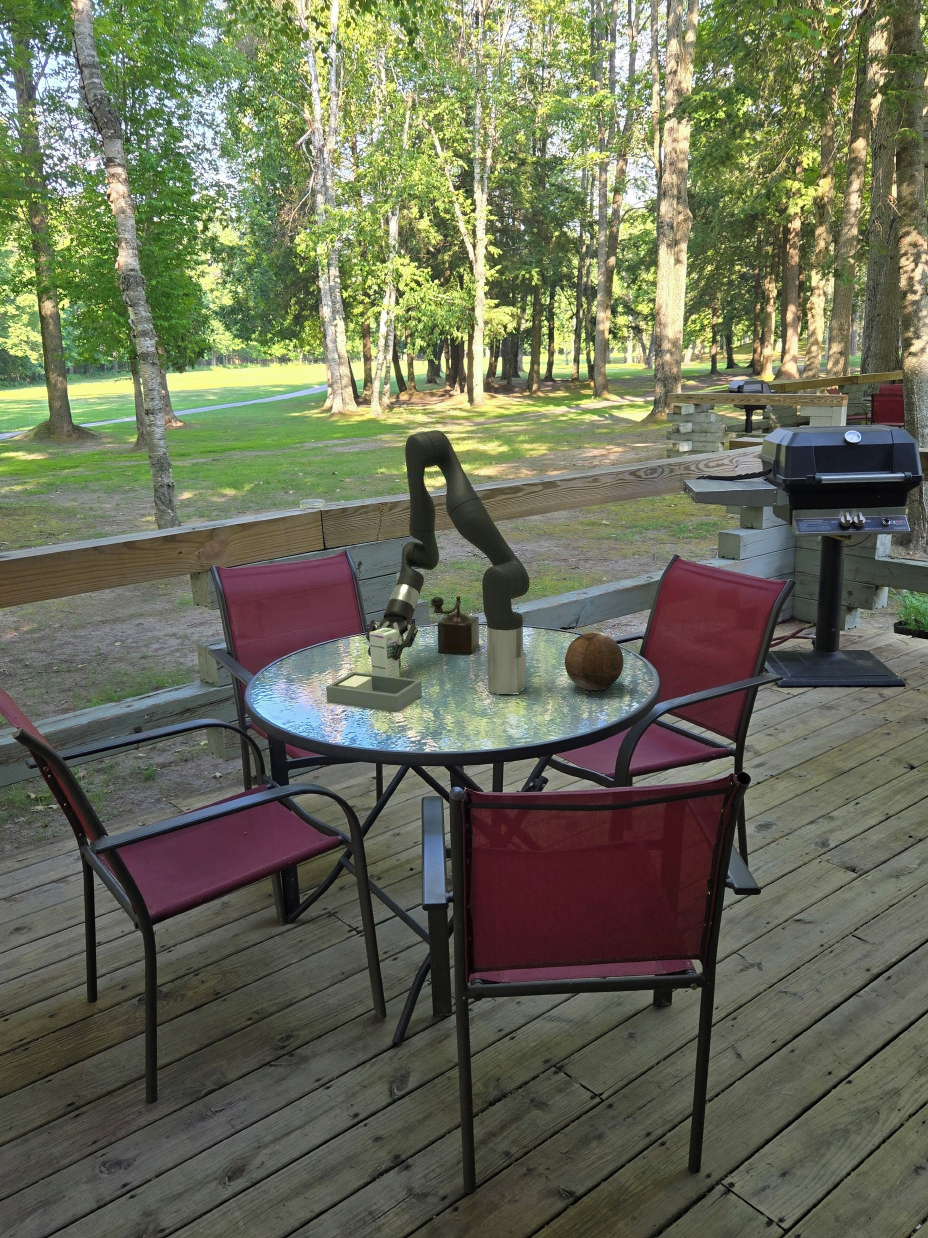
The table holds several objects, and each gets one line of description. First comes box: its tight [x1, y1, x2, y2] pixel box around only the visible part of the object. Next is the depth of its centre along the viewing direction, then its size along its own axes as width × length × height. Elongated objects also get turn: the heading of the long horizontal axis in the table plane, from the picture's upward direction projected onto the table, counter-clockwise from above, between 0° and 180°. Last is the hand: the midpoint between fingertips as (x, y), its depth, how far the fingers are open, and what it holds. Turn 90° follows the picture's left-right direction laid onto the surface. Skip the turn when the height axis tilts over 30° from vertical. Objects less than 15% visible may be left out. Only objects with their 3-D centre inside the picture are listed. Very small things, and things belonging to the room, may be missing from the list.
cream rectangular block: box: [338, 675, 372, 691], centre depth 229 cm, size 5×8×4 cm, turn 155°
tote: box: [325, 671, 423, 713], centre depth 227 cm, size 20×13×5 cm, turn 65°
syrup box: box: [369, 628, 402, 678], centre depth 241 cm, size 6×6×14 cm
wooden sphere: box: [564, 631, 624, 691], centre depth 233 cm, size 15×15×15 cm
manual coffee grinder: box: [430, 595, 480, 656], centre depth 268 cm, size 16×11×18 cm
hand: (382, 657), depth 240 cm, fingers closed on syrup box, 6 cm apart
